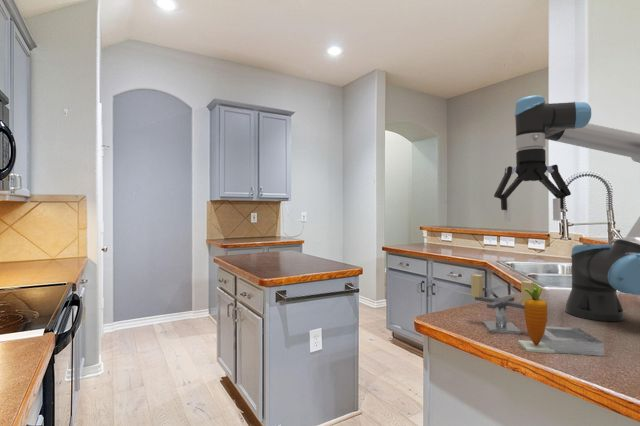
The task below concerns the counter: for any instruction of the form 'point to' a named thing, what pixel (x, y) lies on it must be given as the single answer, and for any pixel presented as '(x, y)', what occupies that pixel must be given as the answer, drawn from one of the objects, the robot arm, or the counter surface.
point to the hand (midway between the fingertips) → (532, 221)
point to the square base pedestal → (501, 323)
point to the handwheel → (497, 302)
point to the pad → (535, 347)
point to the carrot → (535, 315)
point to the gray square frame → (572, 341)
